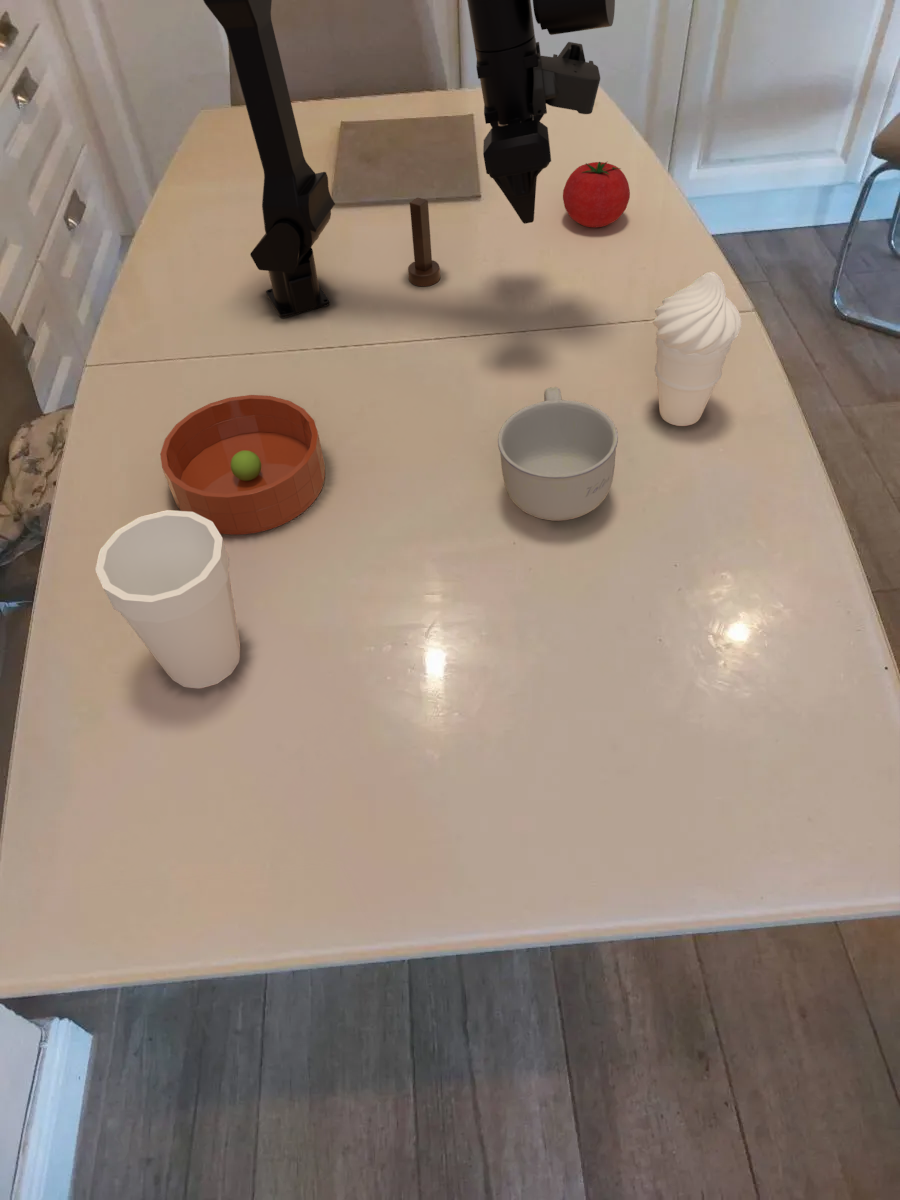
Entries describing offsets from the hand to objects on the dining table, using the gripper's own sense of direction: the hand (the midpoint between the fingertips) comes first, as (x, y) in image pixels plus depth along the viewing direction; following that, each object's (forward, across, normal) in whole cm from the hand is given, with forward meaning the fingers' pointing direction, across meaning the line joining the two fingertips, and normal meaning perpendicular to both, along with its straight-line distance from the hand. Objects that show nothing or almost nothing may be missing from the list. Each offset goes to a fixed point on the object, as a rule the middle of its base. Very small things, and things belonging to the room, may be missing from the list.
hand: (527, 202), depth 97 cm
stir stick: (+12, +11, +15) cm, 22 cm away
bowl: (+11, -27, +30) cm, 42 cm away
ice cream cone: (+18, -17, -13) cm, 28 cm away
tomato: (+15, +25, -7) cm, 30 cm away
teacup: (+16, -28, 0) cm, 32 cm away
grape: (+9, -27, +30) cm, 41 cm away
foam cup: (+12, -49, +31) cm, 59 cm away
